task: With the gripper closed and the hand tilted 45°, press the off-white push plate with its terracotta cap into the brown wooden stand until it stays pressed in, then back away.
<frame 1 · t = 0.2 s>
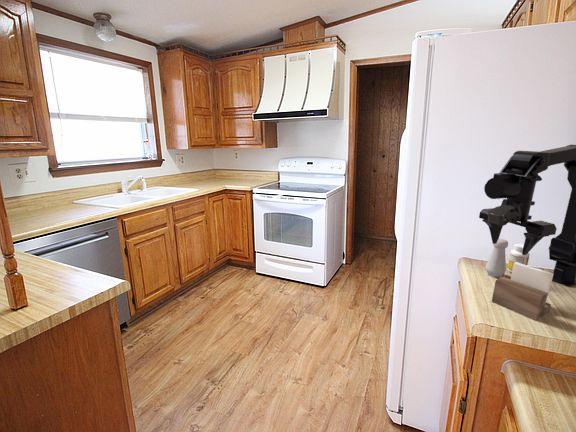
hand: (508, 249, 92), 15 cm above the worktop, tool pointing down, fingers open, 9 cm apart
supplement bottle: (516, 271, 110), on the worktop
button plate: (530, 280, 89), point 7 cm above the worktop, slide at 0.0 cm
brown wooden stand: (519, 306, 89), on the worktop
salt shaker: (494, 275, 108), on the worktop
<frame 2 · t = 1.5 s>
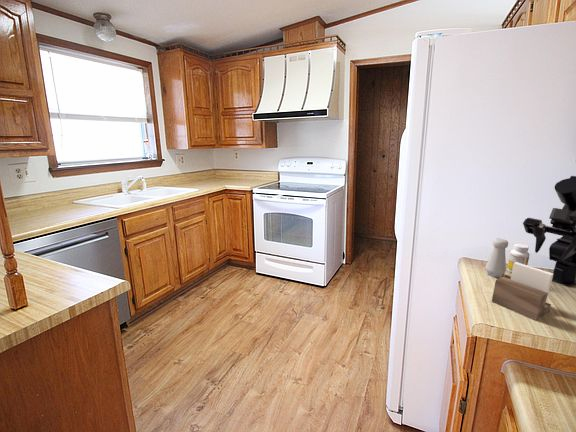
hand: (548, 255, 92), 13 cm above the worktop, tool tilted 45°, fingers open, 6 cm apart
nothing on the worktop moved.
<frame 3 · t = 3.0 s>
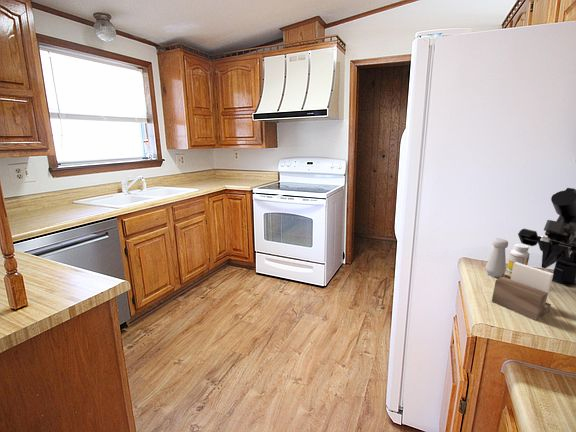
hand: (543, 267, 92), 9 cm above the worktop, tool tilted 45°, fingers closed
nothing on the worktop moved.
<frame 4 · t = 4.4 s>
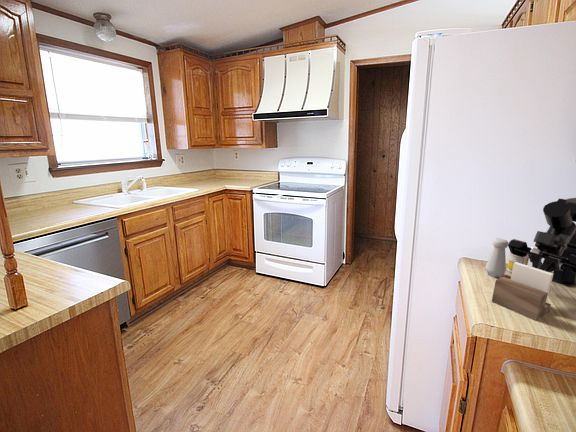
hand: (532, 279, 90), 7 cm above the worktop, tool tilted 45°, fingers closed, pressing on button plate
button plate: (530, 280, 89), point 7 cm above the worktop, slide at 0.1 cm, touching gripper
everything else where it was.
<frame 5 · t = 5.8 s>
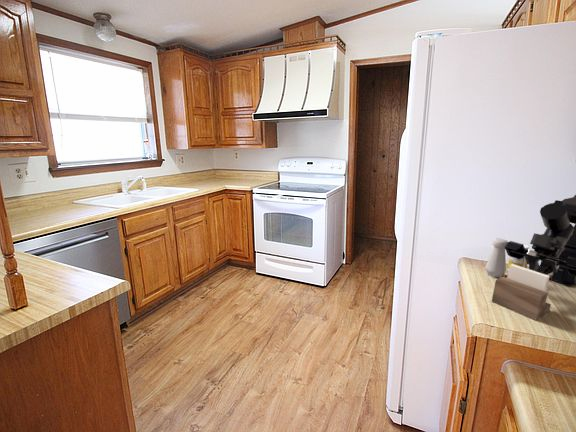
hand: (529, 282, 89), 6 cm above the worktop, tool tilted 45°, fingers closed
button plate: (526, 282, 88), point 7 cm above the worktop, slide at 2.4 cm
everything else where it was.
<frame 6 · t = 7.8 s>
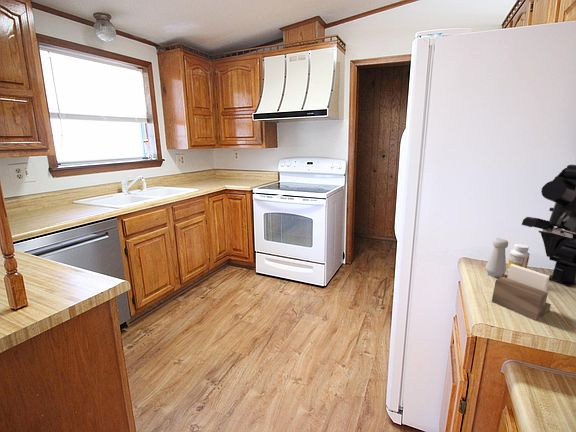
hand: (549, 256, 94), 11 cm above the worktop, tool tilted 20°, fingers closed
nothing on the worktop moved.
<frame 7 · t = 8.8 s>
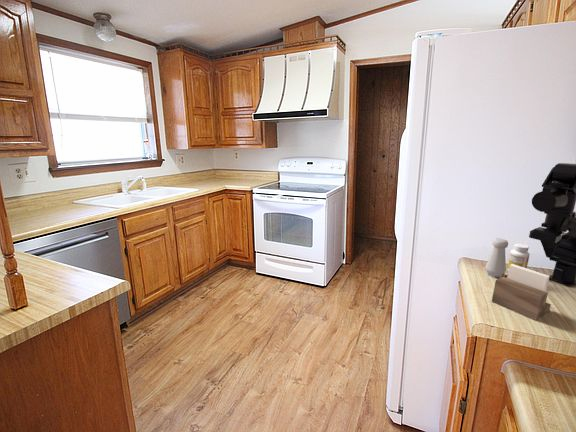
hand: (548, 257, 95), 11 cm above the worktop, tool pointing down, fingers closed
nothing on the worktop moved.
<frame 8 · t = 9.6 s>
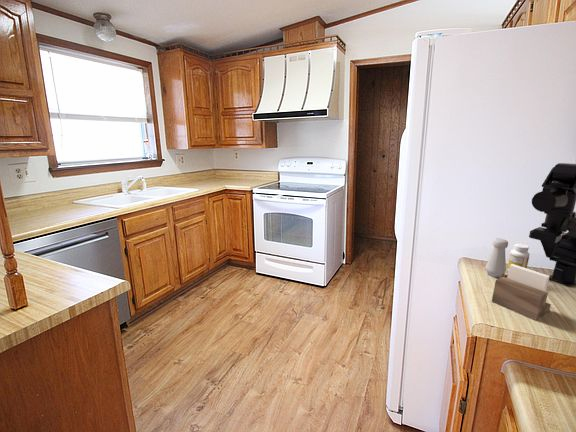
hand: (548, 257, 95), 11 cm above the worktop, tool pointing down, fingers closed
nothing on the worktop moved.
at the end: button plate slide at 2.4 cm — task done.
